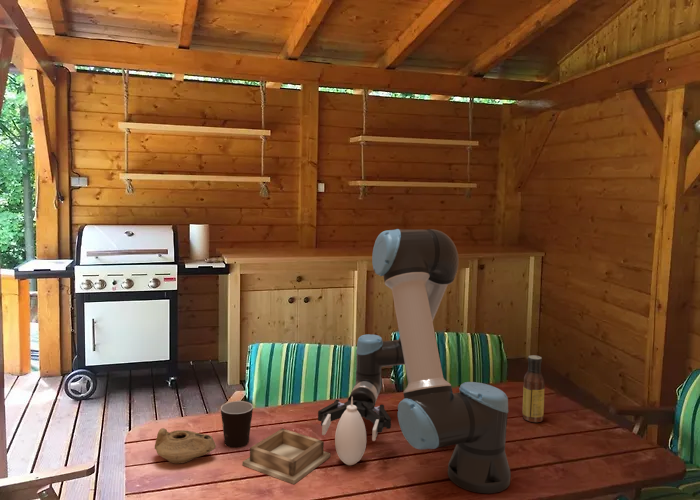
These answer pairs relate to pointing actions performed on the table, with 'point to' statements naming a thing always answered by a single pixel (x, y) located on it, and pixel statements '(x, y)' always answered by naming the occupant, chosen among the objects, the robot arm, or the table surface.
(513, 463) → the table surface
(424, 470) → the table surface
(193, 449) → the oil lamp
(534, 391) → the sauce bottle
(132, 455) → the table surface
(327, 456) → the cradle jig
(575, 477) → the table surface
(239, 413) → the coffee mug
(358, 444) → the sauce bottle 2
